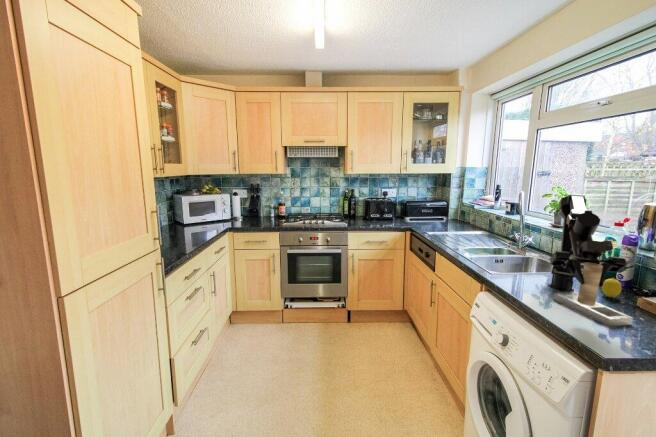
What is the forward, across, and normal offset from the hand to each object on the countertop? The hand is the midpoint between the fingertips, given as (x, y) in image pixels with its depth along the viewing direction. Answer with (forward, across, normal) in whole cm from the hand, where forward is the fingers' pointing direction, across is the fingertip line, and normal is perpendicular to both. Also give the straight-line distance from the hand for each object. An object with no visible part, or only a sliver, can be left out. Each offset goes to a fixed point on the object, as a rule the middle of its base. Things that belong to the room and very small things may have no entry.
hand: (591, 285), depth 93 cm
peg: (+4, 0, +6) cm, 7 cm away
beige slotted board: (+1, +6, +18) cm, 19 cm away
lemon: (-12, +20, +31) cm, 39 cm away
